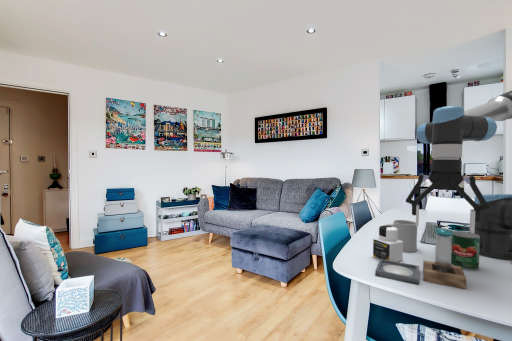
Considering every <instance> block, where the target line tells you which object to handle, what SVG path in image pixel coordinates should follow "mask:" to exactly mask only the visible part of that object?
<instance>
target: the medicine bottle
mask: <svg viewBox="0 0 512 341" xmlns="http://www.w3.org/2000/svg"><path fill="white" fill-rule="evenodd" d="M397 232H398V229H397V228H395V227H393V226H388V225H387V224H386V225H385V224H384V225H380V226H379V227H378V237H375V238H373V239H372V240H373V241H372V242H373V243H372V256H373V258H375V259H377V260H380V259H384V260H390V261H395V262H403V259H404V256H403V255H404V252H403V241H400V240H397Z"/></svg>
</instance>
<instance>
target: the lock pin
mask: <svg viewBox="0 0 512 341" xmlns="http://www.w3.org/2000/svg"><path fill="white" fill-rule="evenodd" d="M453 231H454V230H452V229H450V228H445V227H444V228H443V227H436V228H434V233H435V250H434V251H435V257H434V262H435V270H436V271H441V272H446V273H451V254H452V235H453Z"/></svg>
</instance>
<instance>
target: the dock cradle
mask: <svg viewBox="0 0 512 341" xmlns="http://www.w3.org/2000/svg"><path fill="white" fill-rule="evenodd" d="M374 272H375V273H374V274H375V275H374V276H376V277H381V278H386V279H391V280H394V281H400V282H404V283H409V284H414V285H418V286H419V285H420V265H416V264H410V263H405V262H402V261H398V262H395V261H390V260H384V259H378V262H377V265H376V269H375V270H374Z"/></svg>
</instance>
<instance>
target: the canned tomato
mask: <svg viewBox="0 0 512 341" xmlns="http://www.w3.org/2000/svg"><path fill="white" fill-rule="evenodd" d="M479 249H480V236H479V235H477V234H473V233H470V231H461V230H453V235H452V254H451V265H454V266H460V267H462V270H465V271H478V270H480V255H479Z"/></svg>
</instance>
